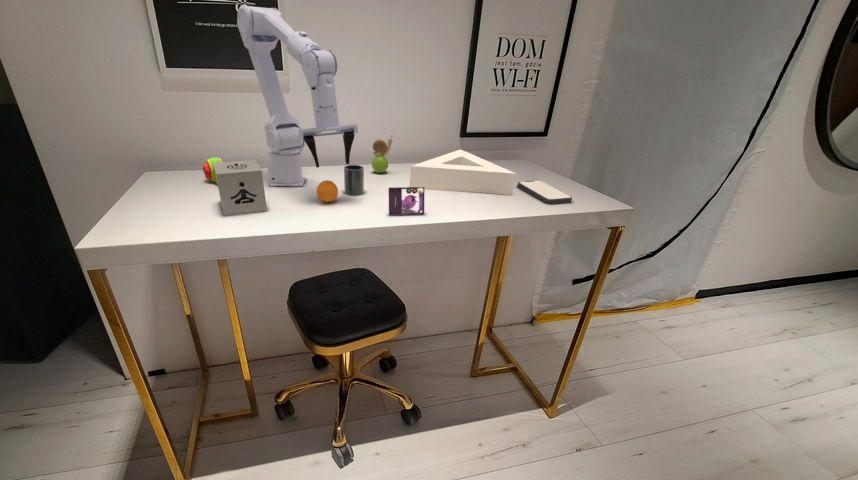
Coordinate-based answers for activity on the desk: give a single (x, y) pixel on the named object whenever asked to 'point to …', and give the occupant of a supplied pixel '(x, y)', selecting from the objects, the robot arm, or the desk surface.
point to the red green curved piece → (211, 169)
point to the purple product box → (405, 200)
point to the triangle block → (462, 174)
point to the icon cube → (240, 187)
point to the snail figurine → (381, 155)
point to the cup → (354, 179)
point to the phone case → (544, 192)
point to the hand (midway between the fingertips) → (332, 165)
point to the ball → (327, 191)
